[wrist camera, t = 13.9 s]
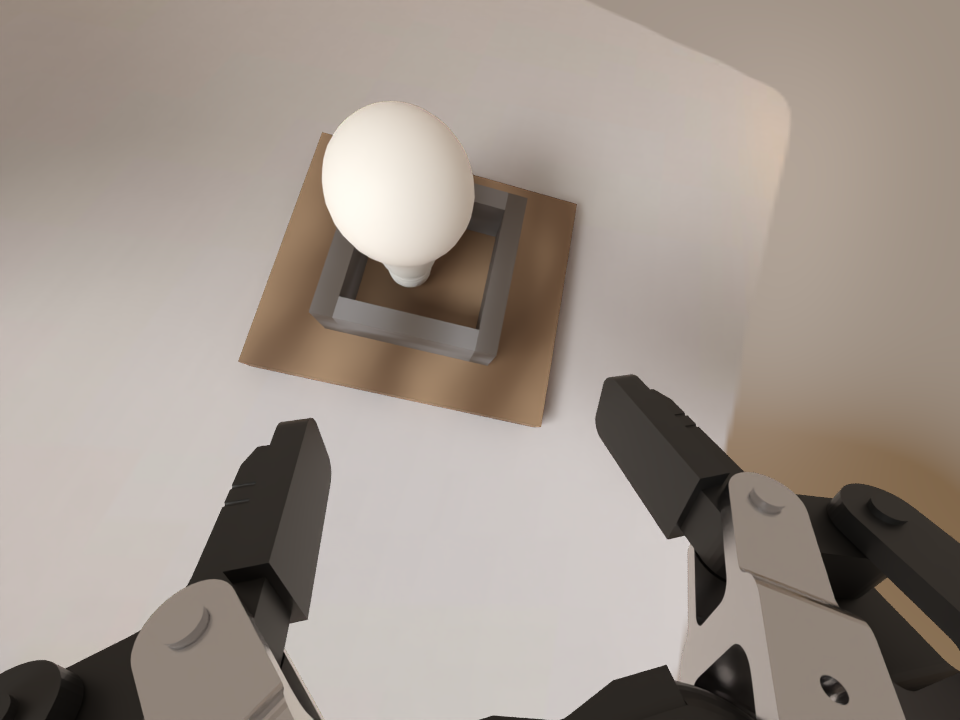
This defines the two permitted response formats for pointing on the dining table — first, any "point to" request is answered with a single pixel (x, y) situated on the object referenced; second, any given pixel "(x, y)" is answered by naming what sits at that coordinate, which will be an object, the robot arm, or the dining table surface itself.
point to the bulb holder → (422, 307)
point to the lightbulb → (398, 187)
